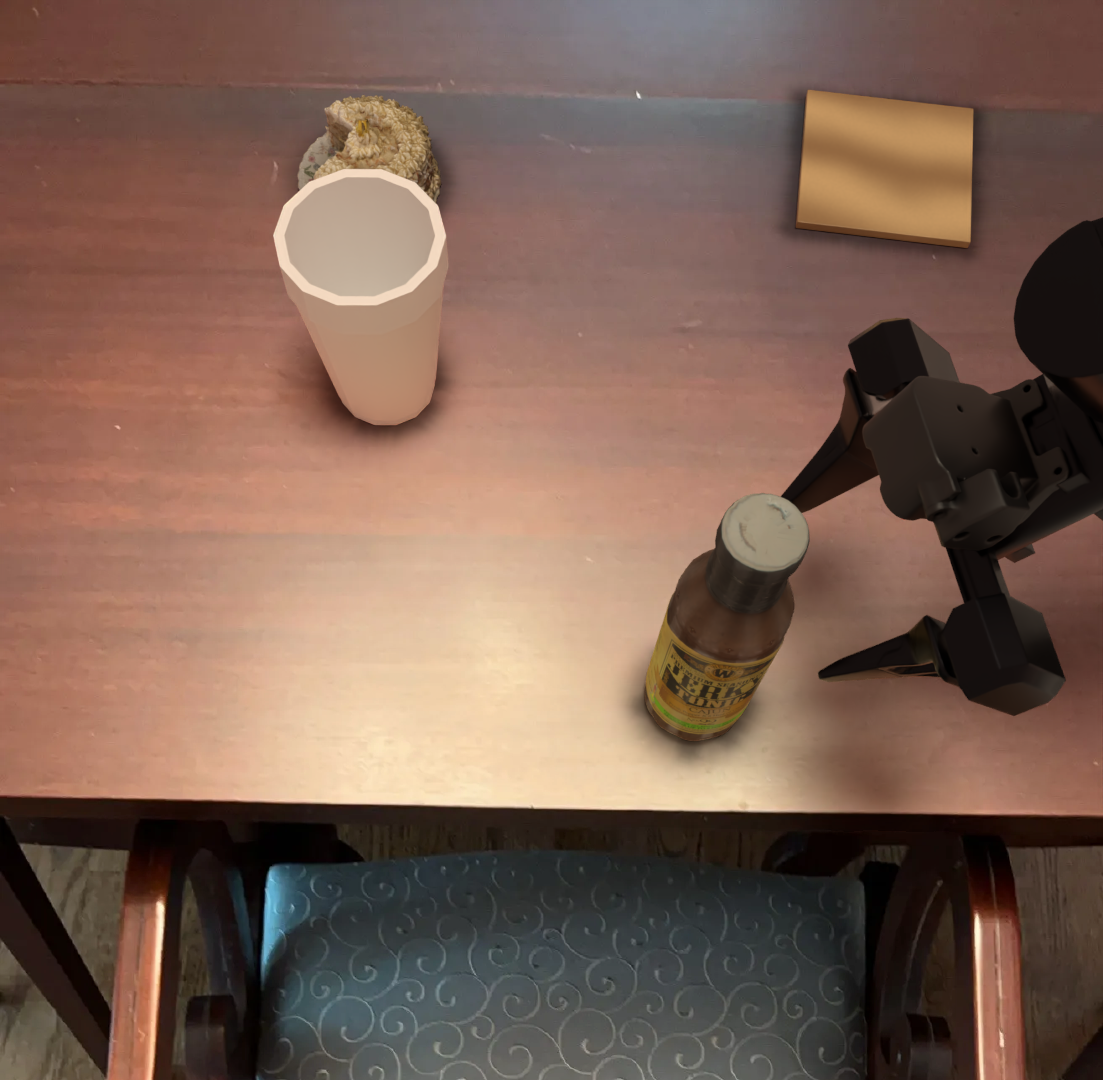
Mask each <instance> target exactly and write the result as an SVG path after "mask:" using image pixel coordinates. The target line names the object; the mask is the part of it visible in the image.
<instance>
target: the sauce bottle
mask: <svg viewBox="0 0 1103 1080" xmlns="http://www.w3.org/2000/svg"><path fill="white" fill-rule="evenodd" d="M807 521H808V520H806V517H805V515H804V513H801V512H800V511H799V509H798V508H797V507H796V506H795V505H794V504H792V503H791V502H790V501H789V500H787V499H784V498H782V497H781V495H777V494H774V493H765V492H759V493H751V494H747V495H744V496H742V497H740V498H739V499H737V500H736V501H735V502H733V503H732V504H731V505H730V506H729V507H728V508H727V510H726V511H725V512H724V514H723V516H722V518H721V519H720V522H719V524H718V526H717V529H716V534H715V537H714V538H715V539H714V545H715V546H714V548H713V549H709V550H707V551H705V552H703V553H701V554H699V555H698V556H697V557H695V558H693V559H692V560H691V562H690V563H688V565H687V567H686V568H685V569H684V570H683V572H682V574H681V575H680V577H679V578H678V581H677V583H676V586H675V589H674V592H673V593H672V595H671V597H670V599H669V601H668V604H667V608H666V611H665V614H664V617H663V620H662V624H661V626H660V629H659V633H658V636H657V639H656V642H655V645H654V647H653V648H654V649H653V652H652V654H651V657H650V661H649V664H648V667H647V670H646V674H645V675H646V676H645V684H644V691H643V692H644V703H645V705H646V708H647V711H648V713H649V714H650V715H651V716H652V718H653V720H654V721H655V722H656V724H657V725H658V726H659V727H660V729H662V730H665V731H666V732H667V733H669V734H671V735H674V736H676V737H678V738H680V739H682V740H684V741H690V742H699V741H704V740H709V739H713V738H717V737H720V736H723V735H724V734H726V733H727V732H728V731H729V730H730V729H731V728H732V727H733V725H734V724H735V723H736V722H737V721H738V720H739V719H740V717H741V716H742V715H743V714H744V713H745V711H746V709H747V707H748V706H749V703H750V702H751V701H752V698H753V697H754V695H755V693H756V691H757V689H758V688H759V686H760V684H761V682H762V680H763V679H764V677H765V675H766V673H767V672H768V670H769V668H770V667H771V665H772V663H773V661H774V659H775V657H776V656H777V655H778V652H779V651H780V649H781V647H782V645H783V644H784V641H785V637H786V635H787V632H788V630H789V628H790V626H791V623H792V619H793V617H794V613H795V608H796V604H795V597H794V592H793V591H794V590H793V588H792V585H791V583H790V580H789V578H790V577H791V576H792V575H793V574H794V573H796V571H797V570H798V569H799V568H800V566H801V564H802V562H803V560H804V558H805V556H806V554H807V553H808V552H807V551H808V549H809V544H810V539H811V538H810V528H809V524H808V522H807Z"/></svg>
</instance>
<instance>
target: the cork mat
mask: <svg viewBox="0 0 1103 1080" xmlns="http://www.w3.org/2000/svg"><path fill="white" fill-rule="evenodd" d="M804 102H805V104H804V114H803V115H804V116H803V126H802V128H803V130H802V141H801V154H800V165H799V166H800V167H799V179H798V192H797V204H796V216H795V229H801V230H810V231H816V232H817V231H818V232H819V231H820V232H826V233H827V232H828V233H834V234H835V233H836V234H845V235H851V236H852V235H853V236H861V237H868V238H878V239H886V240H894V241H904V242H912V243H921V244H929V245H937V246H946V247H955V248H961V249H968V248H969V247H970V244H971V240H972V239H971V238H972V237H971V236H972V198H973V197H972V195H973V194H972V193H973V191H972V190H973V153H974V152H973V147H974V108H971V107H963V106H953V105H943V104H937V103H930V102H929V103H927V102H919V101H908V100H901V99H893V98H885V97H884V98H883V97H876V96H866V95H858V94H851V93H842V92H841V93H840V92H832V91H824V90H813V89H807V91H806V94H805V101H804Z"/></svg>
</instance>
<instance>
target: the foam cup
mask: <svg viewBox="0 0 1103 1080" xmlns="http://www.w3.org/2000/svg"><path fill="white" fill-rule="evenodd" d="M272 236H273V242H274V246H275V250H276V256H277V260H278V265H279V269H280V272H281V277H282V280H283V283H284V287H285V291H286V294H287V297H288V298H289V299H290V301H292V302H293V304H294V305H295V306H296V308H297V310H298V313H299V315H300V317H301V319H302V321H303V323H304V326H305V327H306V329H307V332H308V334H309V336H310V338H311V340H312V342H313V345H314V346H315V348H316V351H317V353H318V355H319V358H320V359H321V362H322V363H323V366H324V368H325V370H326V372H327V374H328V376H329V378H330V381H331V383H332V384H333V387H334V389H335V391H336V393H337V395H338V397H339V399H340V400H341V403H342V404H343V405H344V407H345V408H346V409H347V410H348V411H349V412H350V414H352V415H353V417H354V418H356V419H359V420H361V421H364V422H366V423H369V424H371V425H373V426H398V425H401V424H402V423H405V422H408V421H409V420H412V419H415V418H417V417H418V416H419V415H420V414H421V413H422V412H423V411H424V409H425V408H426V407H427V406H428V405H429V404H430V403H431V401H432V397H433V394H434V390H435V386H436V380H437V371H438V358H439V347H440V346H439V344H440V335H441V324H442V323H441V322H442V311H443V301H444V300H443V299H444V289H445V288H444V286H445V281H446V278H447V274H448V272H449V269H450V264H449V253H448V242H447V241H448V240H447V233H446V230H445V226H444V223H443V219H442V215H441V211H440V207H439V205H438V204H437V202H436V203H435V202H434V201H433V200H432V199H431V198H430V197H429V196H428V195H427V194H426V193H425V192H424V191H423V190H422V189H421V188H420V187H419V186H418V185H417V184H416V183H415V182H413V181H410V180H408V179H405V178H403V177H400V176H398V175H395V174H393V173H390V172H387V171H385V170H382V169H343V170H340V171H337V172H334V173H332V174H329V175H326V176H324V177H321V178H318V179H315V180H313V181H310V182H308V183H307V184H306V185H305V186H304V187H303V188H302V189H301V190H299V191H297V192H296V193H295V194H294V195H293V196H292V197H291V198H290V199H289V200H288V201H287V202H286V203H284V205H283V207H282V208H281V212H280V215H279V217H278V221H277V223H276V226H275V229H274V232H273V234H272Z"/></svg>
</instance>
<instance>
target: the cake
mask: <svg viewBox="0 0 1103 1080" xmlns="http://www.w3.org/2000/svg"><path fill="white" fill-rule="evenodd" d="M324 114H325V115H326V116H325V117H326V122H327V123H326V124H327V125H324V128H325V129H326V132H324V134H323V135H322V136H318V137H317V138H316V139H315V140H314V141H313V143H311V144H310V145H309V146H308V148H307V149H306V151H305V152H304V153H303V154H302V158H301V161H300V162H299V165H298V172H297V174H296V175H297V188H298V189H299V191H300V190H301V189H302V188H303V187H304V186H305V185H306V184H307V183H308V182H310V181H313V180H315V179H318V178H321V177H324V176H326V175H329V174H332V173H334V172H337V171H340V170H343V169H382V170H385V171H387V172H390V173H393V174H395V175H398V176H400V177H403V178H405V179H408V180H410V181H413V182H415V183H416V184H417V185H418V186H419V187H420V188H421V189H422V190H423V191H424V192H425V193H426V194H427V195H428V196H429V197H430V198H431V199H432V200H433V201H434V202H435V203H436V204H437V202H438V199H437V198H438V197H439V196H440V194H441V190H440V187H441V186H442V180H441V170H440V169H439V163H438V161H437V159H435V156H434V153H433V151H432V149H433V146H432V143H431V142H432V138H431V137H430V136H429V135H430V132H429V131H428V130H429V126H428V125H426V124H425V123H424V120H423V119H424V117H423V116H422V115H419V116H418V115H417V113H416V112H414V110H413V108H411V107H409V106H407V105H404V104H402V105H400V103H399V102H398V101H397V100H395V99H394V98H393V99H391V98H388V99H387V100H385V99H384V96H383V95H379V96H378V94H376V95H373V96H372V95H368V96H366V95H365V94H362V95H360V97H359V96H357V97H352V96H351V95H349V96H348V97H344V98H343V99H342V100H337V99H336V100H335V101H334V102H332V103H331V105H329V106H328V107H324Z"/></svg>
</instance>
